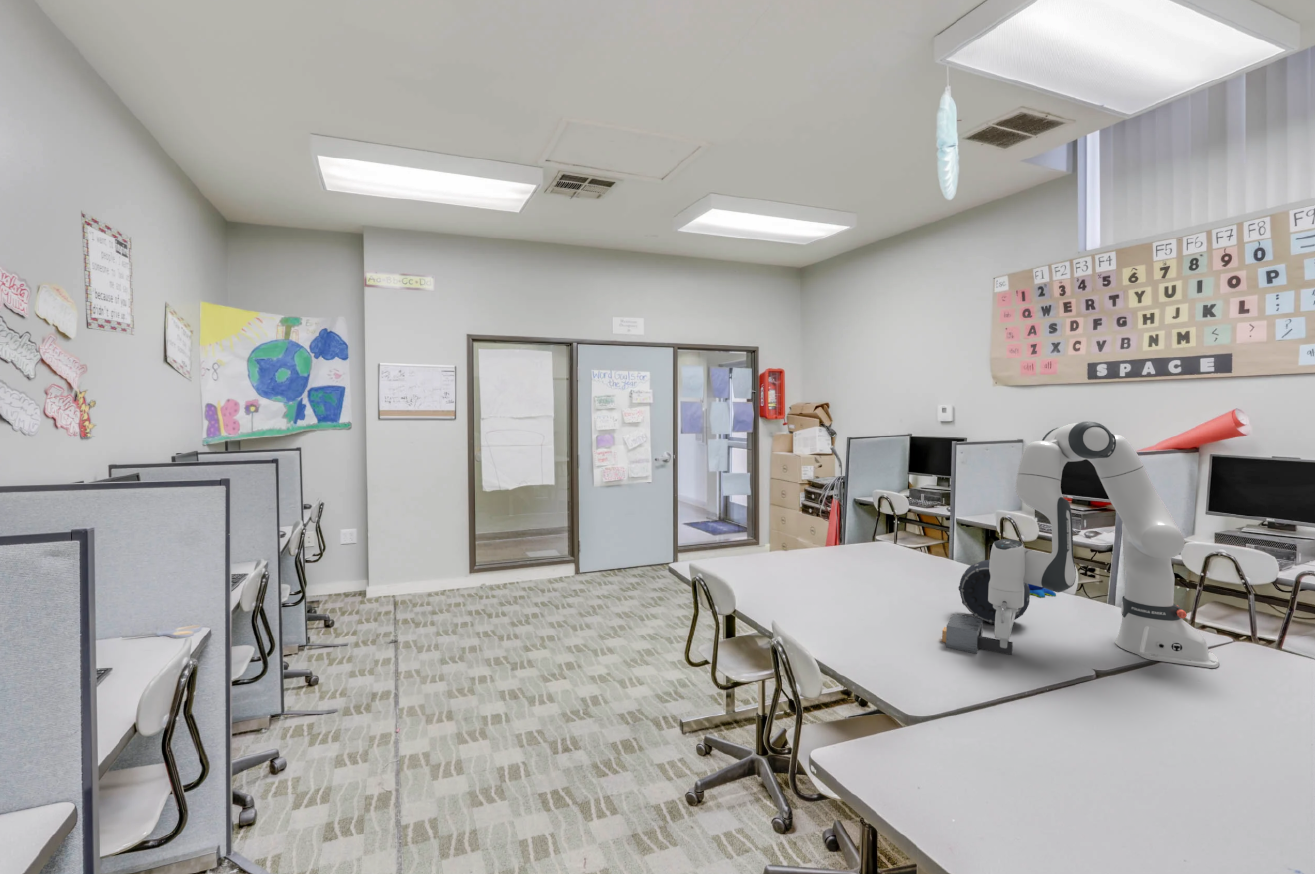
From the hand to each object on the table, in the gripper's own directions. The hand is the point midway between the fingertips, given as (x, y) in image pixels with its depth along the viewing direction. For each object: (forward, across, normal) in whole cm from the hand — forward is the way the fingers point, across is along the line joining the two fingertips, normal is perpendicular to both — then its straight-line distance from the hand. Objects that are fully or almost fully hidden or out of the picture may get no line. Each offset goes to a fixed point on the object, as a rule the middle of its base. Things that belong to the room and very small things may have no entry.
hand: (1004, 645), depth 172 cm
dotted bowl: (+2, +26, +5) cm, 27 cm away
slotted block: (+2, 0, +10) cm, 10 cm away
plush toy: (+2, +72, -3) cm, 72 cm away
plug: (+2, 0, +7) cm, 7 cm away
